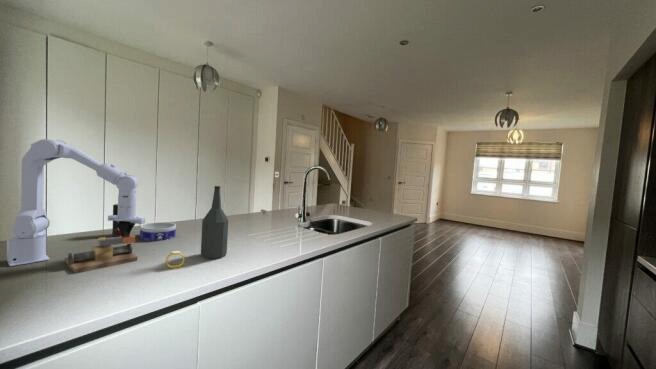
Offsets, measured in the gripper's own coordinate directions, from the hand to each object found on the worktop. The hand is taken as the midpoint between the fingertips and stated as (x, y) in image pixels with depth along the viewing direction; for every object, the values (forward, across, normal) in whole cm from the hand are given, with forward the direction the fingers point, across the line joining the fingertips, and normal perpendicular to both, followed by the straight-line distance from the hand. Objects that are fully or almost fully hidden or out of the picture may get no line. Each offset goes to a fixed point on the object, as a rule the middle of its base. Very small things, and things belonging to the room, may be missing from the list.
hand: (125, 240), depth 109 cm
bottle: (+6, +31, +12) cm, 34 cm away
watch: (+6, +25, -4) cm, 26 cm away
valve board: (+6, -2, -8) cm, 10 cm away
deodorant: (+7, -24, +23) cm, 34 cm away
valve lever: (+1, 0, -4) cm, 4 cm away
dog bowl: (+7, -7, +27) cm, 29 cm away
